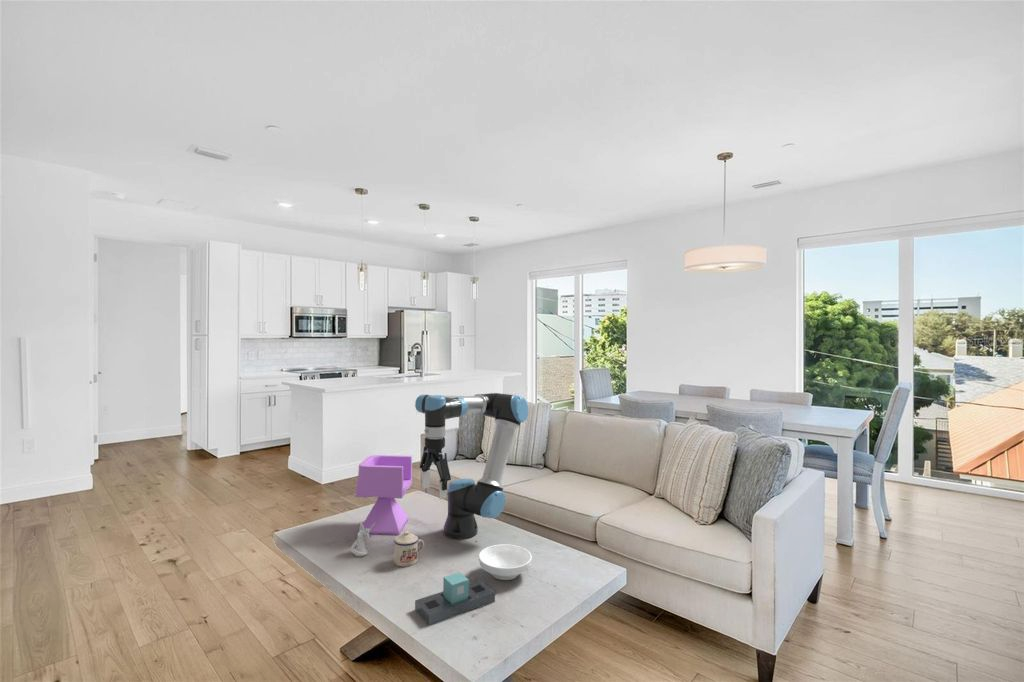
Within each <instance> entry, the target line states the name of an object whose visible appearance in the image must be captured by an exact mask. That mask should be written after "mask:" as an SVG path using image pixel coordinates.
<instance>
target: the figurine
mask: <svg viewBox="0 0 1024 682" xmlns="http://www.w3.org/2000/svg"><path fill="white" fill-rule="evenodd" d="M363 523H364V522H361V521H360V522H359V529H358V533H357V537H356V538H357V539H356V540H354V542H353V543H352V545H351V547H350V552H352V553H353V554H355V555H354V556H355V557H364V556H367V555H368V552H369V550H368V549H367V548H366V544H365V541H366V540H367V539H368V538H369V537H370V535H371V534H369V532H370V530H371V529H372V528H373V526H374V525H375V523H374V524H373V525H372V527H371V528H370V529H368V528H367V529H365V530H364V527H363Z"/></svg>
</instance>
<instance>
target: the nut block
mask: <svg viewBox="0 0 1024 682" xmlns="http://www.w3.org/2000/svg"><path fill="white" fill-rule="evenodd" d="M469 583H470V579H468V577H466V576H465V575H464V574H463V573H462V572H456V573H452V574H449V575H446V576H443V585H442V586H443V587H442V592H443V598H444V599H445V600H446V601H447V602H448V603H449V604H450V605H454V604H456V603H459V602H462V601H465V600H468V596H469Z"/></svg>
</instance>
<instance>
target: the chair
mask: <svg viewBox="0 0 1024 682" xmlns="http://www.w3.org/2000/svg"><path fill="white" fill-rule="evenodd" d="M412 478H413V456H412V455H394V454H393V455H388V454H387V455H386V454H377V455H376V454H374V455H369V456H367V458H365V459H364V460H363V461H361V463H359V465H358V474H357V483H356V489H355V498H372V497H374V498H377V500H375V503H374V505H372V508H371V510H370V511H369V513H368V514H367V517H366V518H365V520H364V521H363V522H362V523H363V527H364V530H365V529H367V528H368V529H370V528H371V527H372V525H373V524H374V523H375V525H374V526H373V528H372V529H371V530H370V532H369V534H370V535H378V536H379V535H386V536H391V535H392V536H399V535H401V532H403V528H404V527H405V525H406V523H408V520H409V516H408V515H407V513H406V511H404V509H403V508H402V507H401V505H400V504H399V503H398V501H397V500H396V499H403V497H404V496H405V494H406V492H407V491H408V489H410V488H411V486H412V484H413V479H412Z"/></svg>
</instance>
